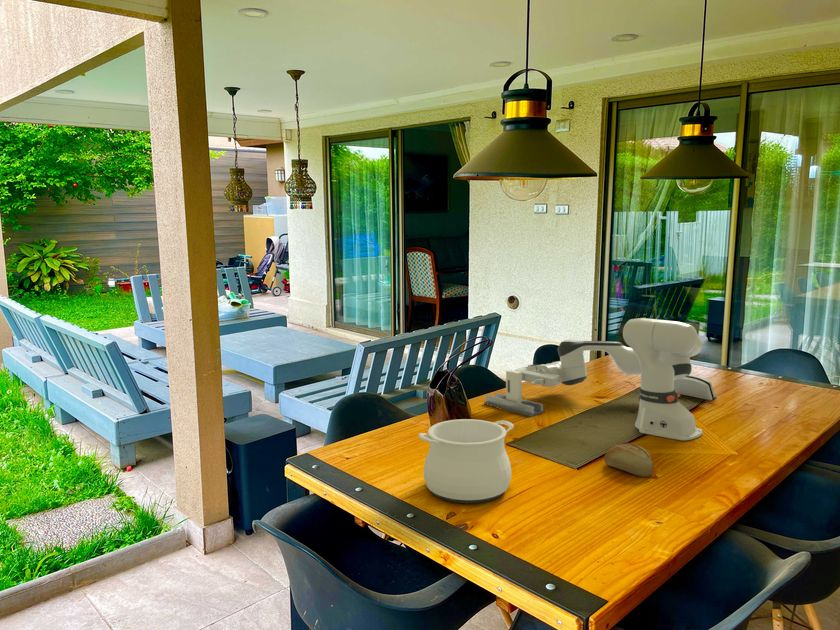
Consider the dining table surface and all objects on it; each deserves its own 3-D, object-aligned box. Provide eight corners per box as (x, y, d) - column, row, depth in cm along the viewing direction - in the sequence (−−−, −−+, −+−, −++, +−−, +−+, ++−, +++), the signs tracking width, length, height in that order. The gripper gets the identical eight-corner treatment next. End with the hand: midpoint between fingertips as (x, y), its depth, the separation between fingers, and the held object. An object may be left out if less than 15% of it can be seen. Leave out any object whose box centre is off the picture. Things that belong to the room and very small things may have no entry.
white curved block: (717, 398, 267) (714, 377, 264) (711, 403, 265) (708, 382, 261) (679, 390, 280) (676, 370, 277) (673, 395, 278) (670, 375, 274)
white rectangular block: (521, 406, 256) (521, 372, 254) (517, 408, 254) (517, 373, 252) (510, 403, 261) (510, 369, 259) (505, 405, 259) (505, 370, 257)
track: (544, 412, 252) (544, 403, 251) (529, 417, 246) (529, 408, 245) (498, 400, 270) (498, 392, 269) (484, 404, 264) (484, 396, 263)
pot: (440, 516, 164) (439, 450, 162) (404, 482, 187) (402, 423, 184) (534, 496, 175) (535, 434, 173) (489, 466, 198) (489, 410, 195)
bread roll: (613, 460, 201) (614, 435, 200) (660, 472, 190) (661, 446, 189) (597, 468, 194) (598, 443, 193) (644, 482, 184) (645, 455, 183)
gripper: (565, 386, 263) (544, 393, 254) (526, 378, 278) (505, 383, 269) (566, 371, 262) (544, 377, 253) (526, 363, 277) (505, 368, 268)
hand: (524, 380), depth 261 cm, fingers open, 8 cm apart
